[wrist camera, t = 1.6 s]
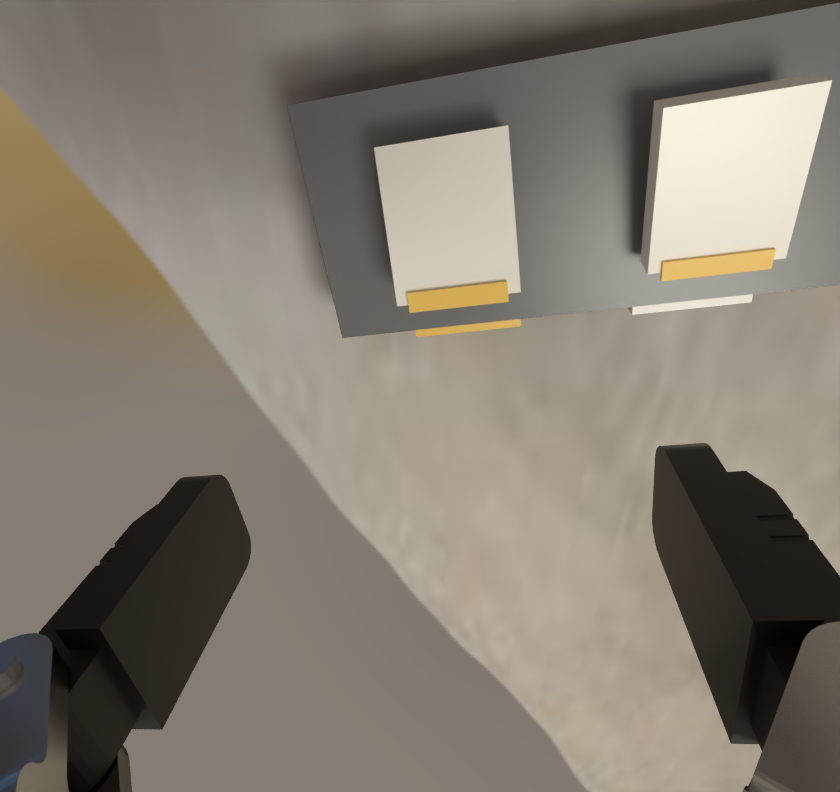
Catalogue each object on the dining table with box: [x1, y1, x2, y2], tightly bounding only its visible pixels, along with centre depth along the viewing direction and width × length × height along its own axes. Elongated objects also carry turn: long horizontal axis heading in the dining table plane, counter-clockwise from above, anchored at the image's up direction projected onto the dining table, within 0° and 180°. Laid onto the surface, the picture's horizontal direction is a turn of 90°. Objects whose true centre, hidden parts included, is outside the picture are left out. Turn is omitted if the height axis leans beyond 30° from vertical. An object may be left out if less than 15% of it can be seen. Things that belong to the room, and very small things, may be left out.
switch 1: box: [374, 125, 521, 313], centre depth 21 cm, size 6×5×1 cm
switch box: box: [287, 2, 840, 338], centre depth 23 cm, size 11×32×4 cm, turn 99°
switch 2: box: [641, 74, 832, 281], centre depth 20 cm, size 6×5×1 cm
